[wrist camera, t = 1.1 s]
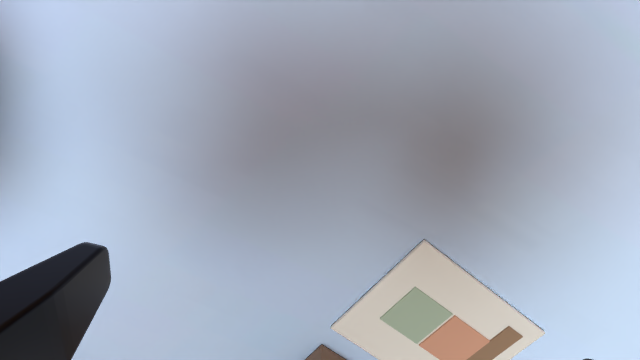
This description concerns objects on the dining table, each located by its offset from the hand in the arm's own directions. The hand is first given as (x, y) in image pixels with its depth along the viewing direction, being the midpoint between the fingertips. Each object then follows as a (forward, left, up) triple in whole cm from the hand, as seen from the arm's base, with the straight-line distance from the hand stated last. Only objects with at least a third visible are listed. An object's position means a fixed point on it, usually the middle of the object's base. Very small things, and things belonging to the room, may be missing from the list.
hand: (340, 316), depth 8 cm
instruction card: (-6, -13, -14) cm, 20 cm away
